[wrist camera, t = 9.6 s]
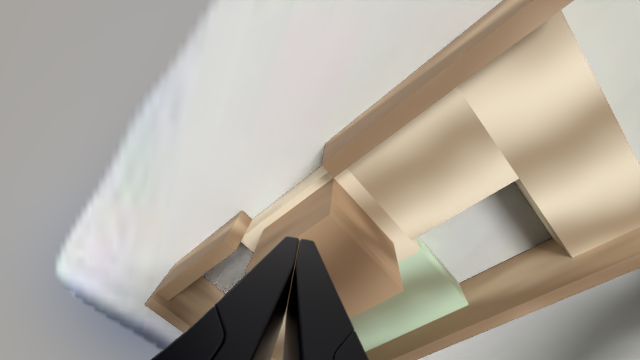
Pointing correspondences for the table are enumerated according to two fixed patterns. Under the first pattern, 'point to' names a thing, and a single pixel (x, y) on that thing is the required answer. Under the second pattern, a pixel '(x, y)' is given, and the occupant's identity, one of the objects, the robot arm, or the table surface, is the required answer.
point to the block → (340, 246)
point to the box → (466, 185)
